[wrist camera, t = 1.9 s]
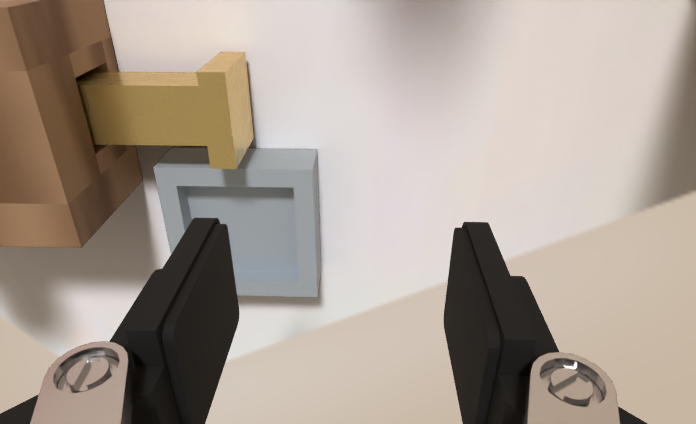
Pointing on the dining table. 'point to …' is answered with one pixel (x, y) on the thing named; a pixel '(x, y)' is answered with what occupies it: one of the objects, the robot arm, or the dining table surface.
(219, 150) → the tan wooden t-shaped piece
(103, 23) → the socket block
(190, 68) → the dining table surface
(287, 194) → the grey square tray
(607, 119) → the dining table surface
